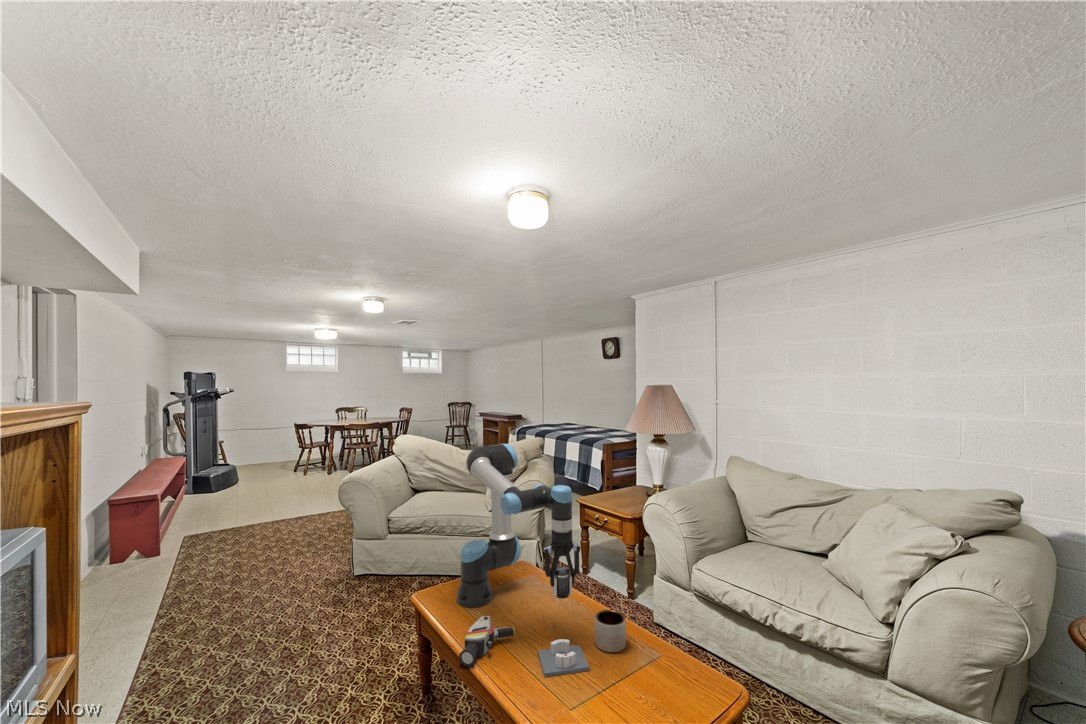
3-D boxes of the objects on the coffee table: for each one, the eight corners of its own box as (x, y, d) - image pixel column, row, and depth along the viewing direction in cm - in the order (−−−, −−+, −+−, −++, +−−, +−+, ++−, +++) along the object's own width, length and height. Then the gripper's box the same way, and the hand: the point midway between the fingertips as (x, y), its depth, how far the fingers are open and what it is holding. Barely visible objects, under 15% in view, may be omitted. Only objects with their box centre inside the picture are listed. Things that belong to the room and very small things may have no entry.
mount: (537, 654, 154) (537, 639, 154) (579, 648, 157) (579, 634, 157) (544, 677, 142) (544, 661, 142) (589, 670, 145) (589, 655, 145)
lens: (553, 592, 164) (553, 567, 165) (567, 591, 165) (567, 566, 166) (557, 599, 159) (556, 573, 160) (570, 597, 160) (570, 572, 161)
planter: (629, 639, 162) (628, 613, 162) (621, 657, 152) (621, 628, 152) (600, 632, 166) (600, 606, 167) (591, 649, 156) (590, 621, 157)
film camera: (500, 674, 145) (457, 667, 148) (516, 636, 164) (478, 631, 167) (500, 653, 145) (457, 646, 148) (516, 618, 164) (478, 613, 167)
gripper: (539, 535, 157) (540, 601, 157) (588, 531, 161) (589, 596, 160) (535, 527, 165) (536, 591, 164) (582, 524, 168) (583, 586, 168)
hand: (562, 593), depth 162 cm, fingers closed on lens, 5 cm apart
